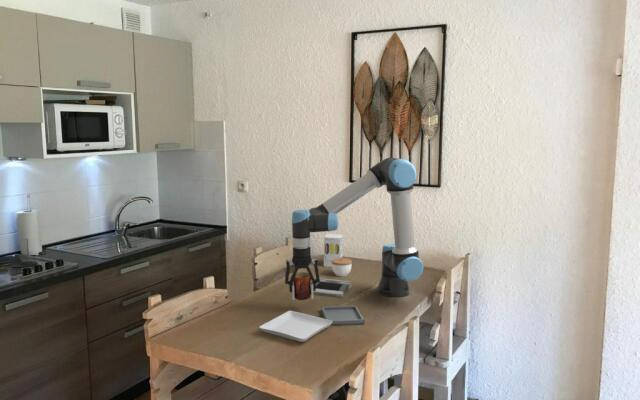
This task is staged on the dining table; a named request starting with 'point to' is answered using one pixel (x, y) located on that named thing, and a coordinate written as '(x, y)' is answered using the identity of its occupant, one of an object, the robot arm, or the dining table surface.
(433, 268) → the dining table surface
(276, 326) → the salad plate
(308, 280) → the mug
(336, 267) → the lidded jar
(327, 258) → the supplement box
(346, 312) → the rest tray
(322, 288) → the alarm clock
